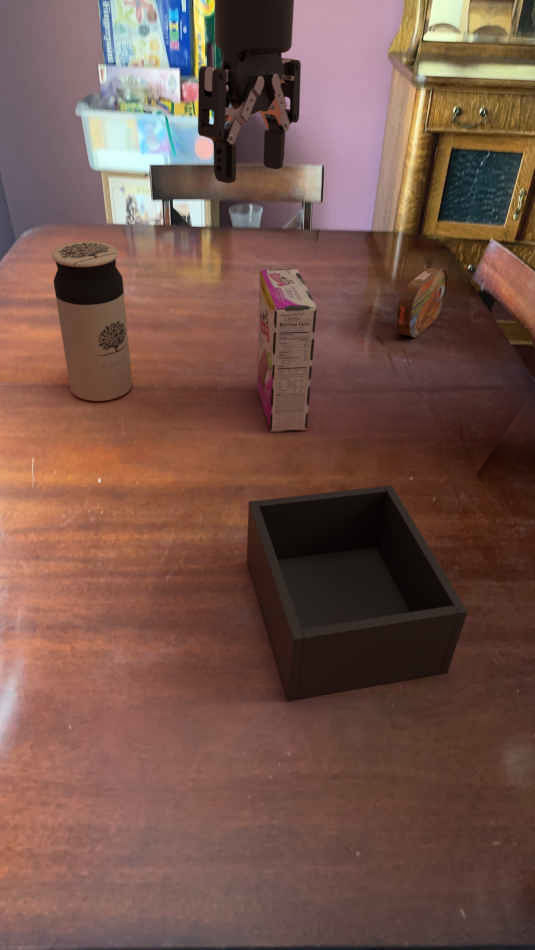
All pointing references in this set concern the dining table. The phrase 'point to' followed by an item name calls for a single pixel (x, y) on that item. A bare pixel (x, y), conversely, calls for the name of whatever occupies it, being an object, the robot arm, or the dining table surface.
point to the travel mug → (92, 320)
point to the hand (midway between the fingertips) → (250, 174)
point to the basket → (349, 591)
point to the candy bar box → (285, 348)
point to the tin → (421, 301)
